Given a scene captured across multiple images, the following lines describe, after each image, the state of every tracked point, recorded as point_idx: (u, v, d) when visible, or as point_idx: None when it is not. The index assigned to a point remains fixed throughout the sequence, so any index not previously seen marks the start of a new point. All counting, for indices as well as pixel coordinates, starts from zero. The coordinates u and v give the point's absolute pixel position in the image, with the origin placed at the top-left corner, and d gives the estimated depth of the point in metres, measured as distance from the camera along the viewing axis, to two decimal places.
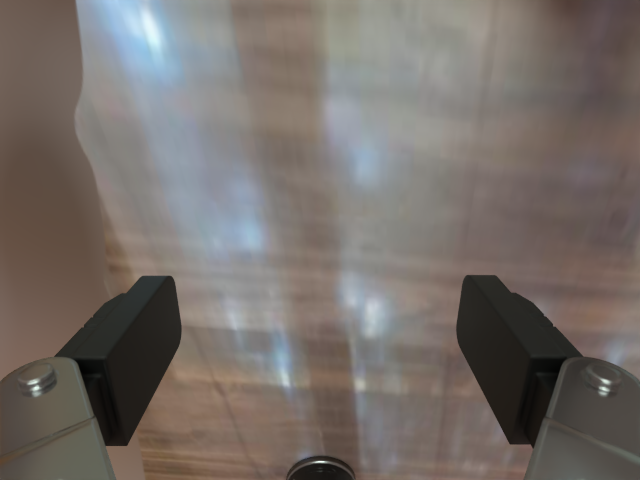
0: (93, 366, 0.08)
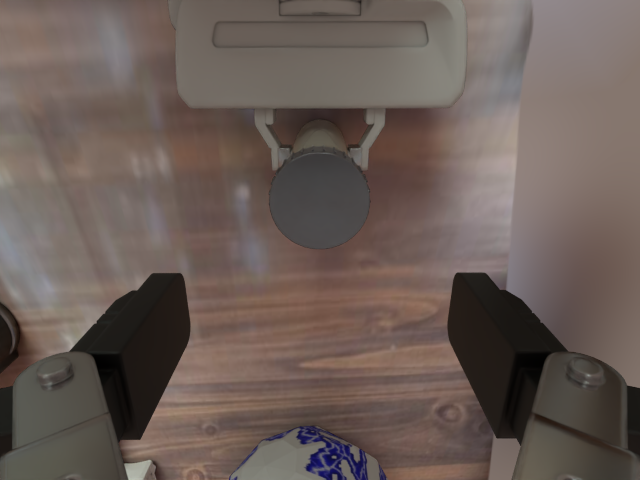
0: (108, 361, 0.08)
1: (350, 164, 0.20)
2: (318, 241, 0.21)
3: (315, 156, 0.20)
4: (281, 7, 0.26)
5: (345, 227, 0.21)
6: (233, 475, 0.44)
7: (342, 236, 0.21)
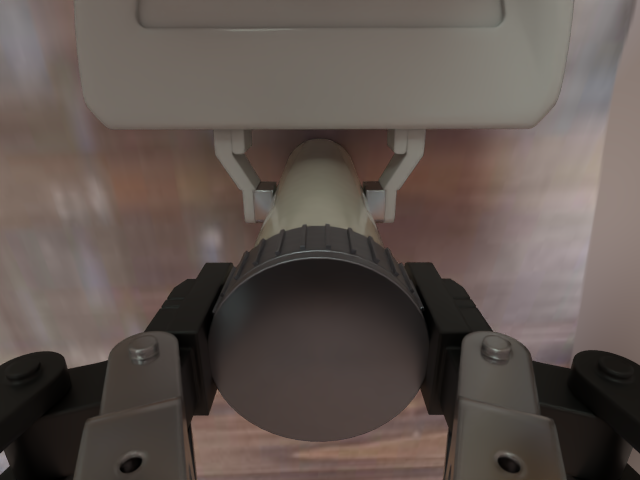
0: (185, 340, 0.08)
1: (390, 282, 0.08)
2: (316, 428, 0.10)
3: (308, 265, 0.08)
4: None
5: (374, 403, 0.10)
6: None
7: (367, 419, 0.10)
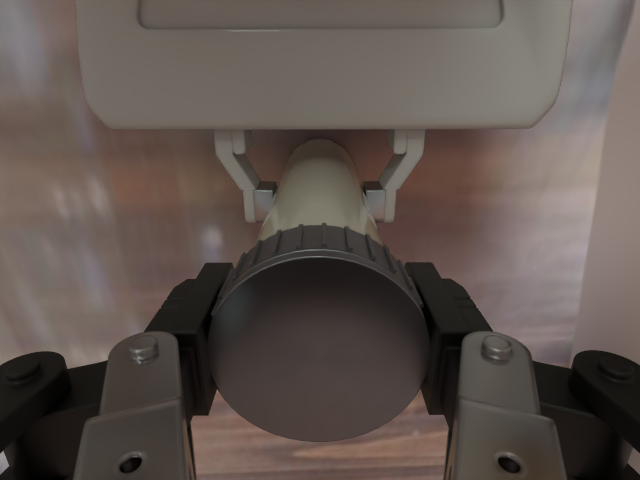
0: (184, 340, 0.08)
1: (244, 283, 0.08)
2: (405, 378, 0.09)
3: (214, 344, 0.09)
4: None
5: (391, 321, 0.09)
6: None
7: (411, 331, 0.09)
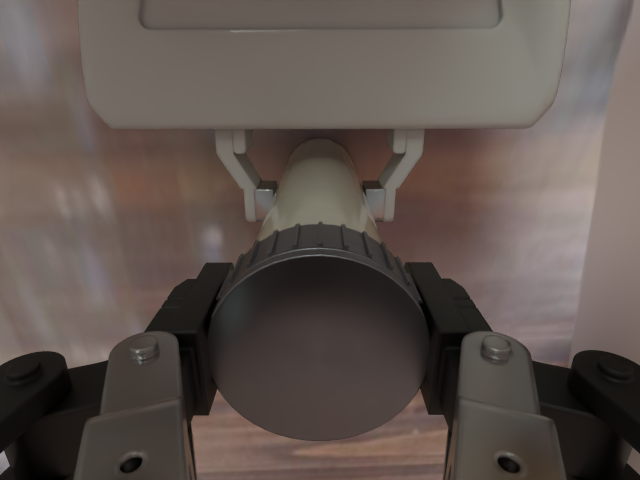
0: (185, 340, 0.08)
1: (223, 394, 0.10)
2: (366, 286, 0.08)
3: (282, 429, 0.10)
4: None
5: (290, 288, 0.09)
6: None
7: (307, 272, 0.08)
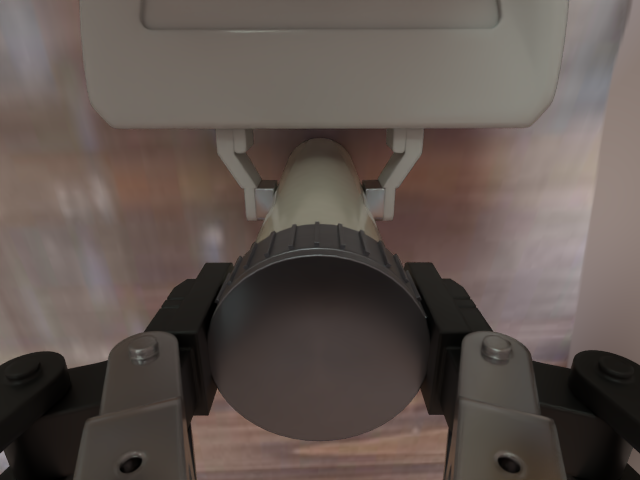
0: (185, 340, 0.08)
1: (338, 438, 0.10)
2: (246, 303, 0.09)
3: (398, 404, 0.10)
4: None
5: (236, 363, 0.09)
6: None
7: (222, 347, 0.09)
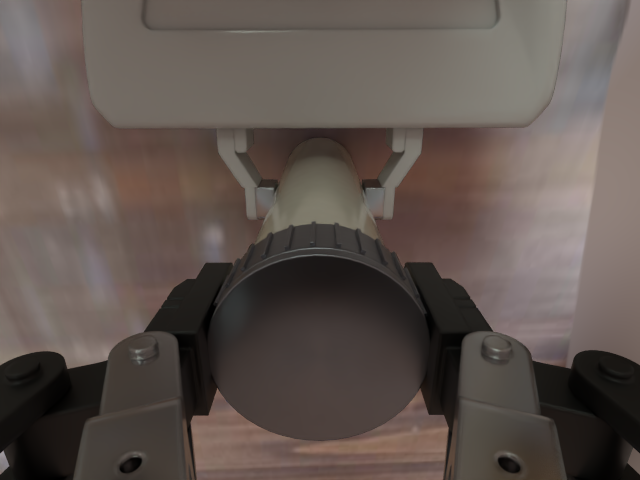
0: (184, 340, 0.08)
1: (427, 361, 0.09)
2: (245, 397, 0.10)
3: (402, 298, 0.09)
4: None
5: (306, 419, 0.10)
6: None
7: (286, 425, 0.10)
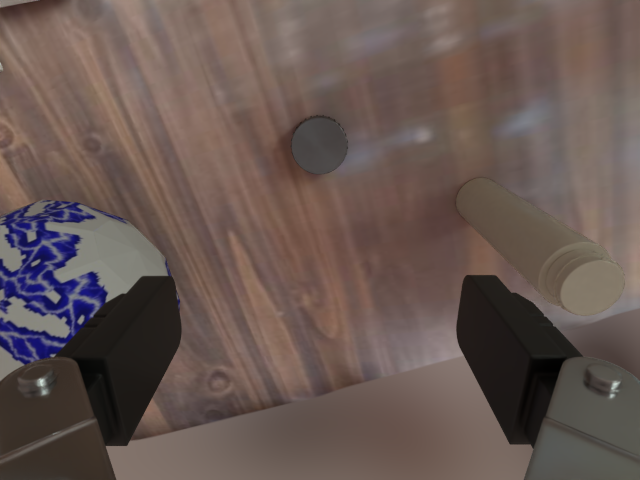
0: (93, 366, 0.08)
1: (326, 119, 0.36)
2: (327, 168, 0.38)
3: (307, 122, 0.36)
4: None
5: (338, 154, 0.37)
6: (86, 208, 0.33)
7: (338, 160, 0.37)
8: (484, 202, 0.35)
